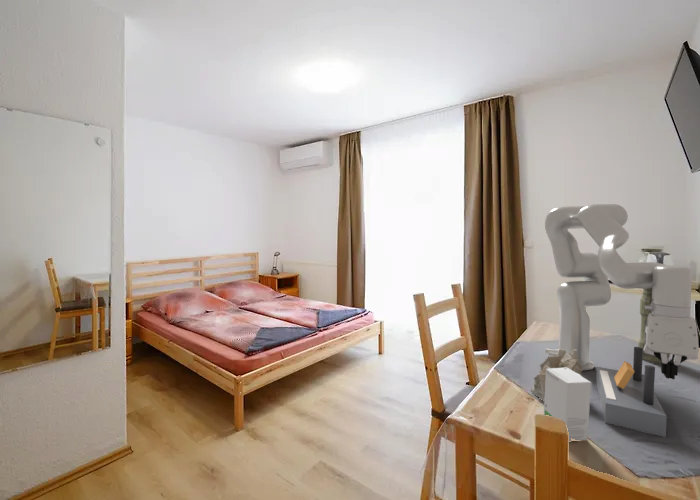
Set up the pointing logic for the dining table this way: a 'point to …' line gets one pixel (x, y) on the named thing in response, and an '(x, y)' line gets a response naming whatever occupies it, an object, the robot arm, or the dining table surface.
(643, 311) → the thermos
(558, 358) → the beige rock sculpture
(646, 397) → the dark gray rod
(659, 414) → the strip
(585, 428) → the skincare box
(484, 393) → the dining table surface
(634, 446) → the dining table surface
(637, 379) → the dark grey cylinder
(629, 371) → the wooden plank tile
